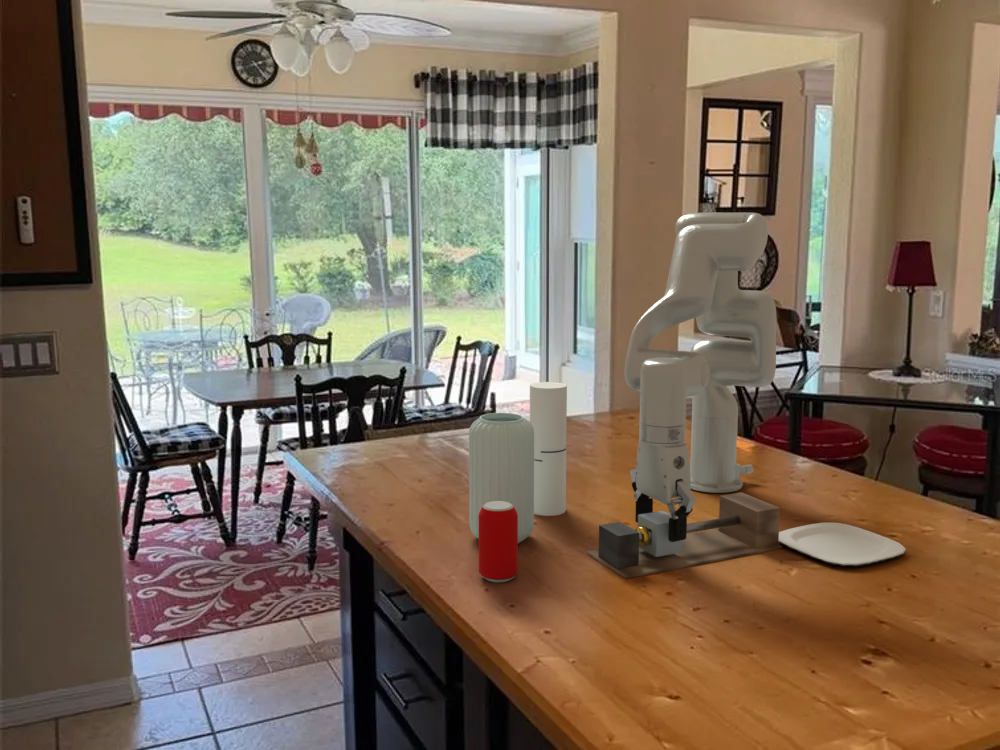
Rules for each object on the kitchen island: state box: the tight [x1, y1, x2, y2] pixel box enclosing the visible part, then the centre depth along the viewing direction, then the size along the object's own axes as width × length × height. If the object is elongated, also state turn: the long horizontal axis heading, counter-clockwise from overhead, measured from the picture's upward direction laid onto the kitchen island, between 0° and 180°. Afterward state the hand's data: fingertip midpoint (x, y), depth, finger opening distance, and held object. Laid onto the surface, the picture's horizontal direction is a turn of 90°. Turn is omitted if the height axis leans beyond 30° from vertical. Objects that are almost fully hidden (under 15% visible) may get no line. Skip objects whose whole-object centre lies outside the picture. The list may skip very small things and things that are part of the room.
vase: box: [468, 412, 535, 544], centre depth 158 cm, size 12×12×22 cm
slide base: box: [586, 492, 783, 579], centre depth 153 cm, size 32×12×7 cm, turn 115°
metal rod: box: [634, 515, 740, 547], centre depth 152 cm, size 26×3×3 cm, turn 115°
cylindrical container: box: [529, 381, 568, 517], centre depth 174 cm, size 7×7×25 cm
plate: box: [778, 522, 907, 567], centre depth 155 cm, size 18×18×2 cm
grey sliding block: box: [637, 510, 681, 557], centre depth 151 cm, size 5×6×6 cm
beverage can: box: [478, 501, 519, 584], centre depth 141 cm, size 6×6×12 cm
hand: (660, 530), depth 151 cm, fingers open, 9 cm apart
